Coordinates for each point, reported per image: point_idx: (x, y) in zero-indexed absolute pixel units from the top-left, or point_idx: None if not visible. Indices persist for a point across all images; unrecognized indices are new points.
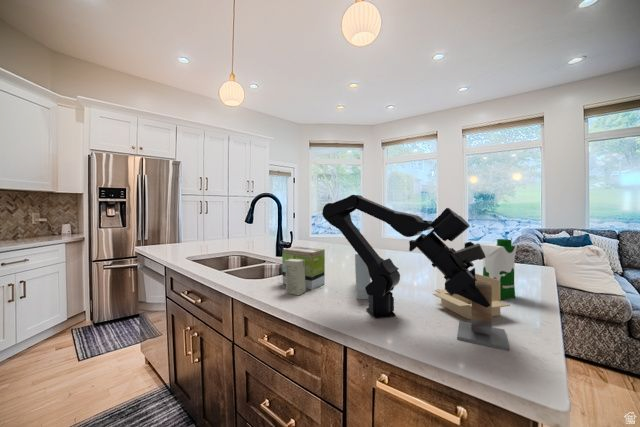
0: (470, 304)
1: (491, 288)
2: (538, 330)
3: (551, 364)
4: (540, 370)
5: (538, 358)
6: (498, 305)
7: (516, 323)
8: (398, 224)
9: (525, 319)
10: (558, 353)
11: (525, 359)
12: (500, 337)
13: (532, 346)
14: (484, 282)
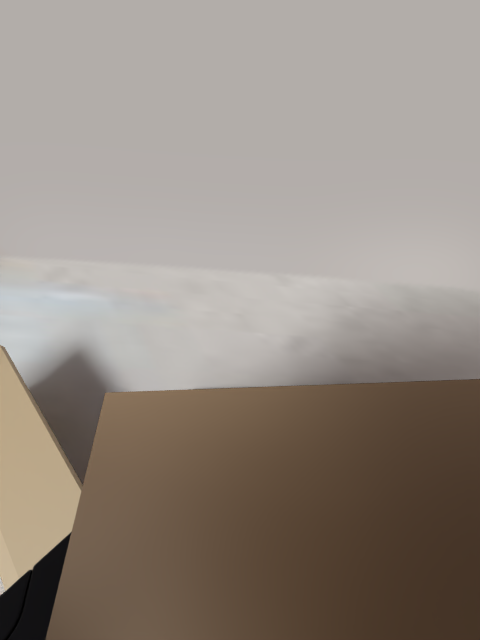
0: (12, 578)
1: (477, 389)
2: (132, 299)
3: (363, 293)
4: (427, 318)
5: (348, 316)
6: (14, 395)
7: (89, 351)
8: None
9: (44, 323)
10: (277, 274)
11: (384, 347)
12: None
13: (269, 322)
14: (146, 510)
